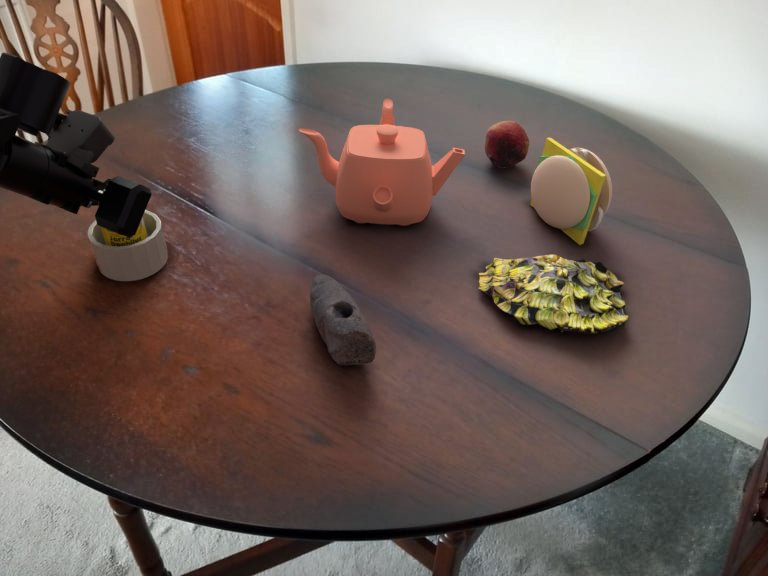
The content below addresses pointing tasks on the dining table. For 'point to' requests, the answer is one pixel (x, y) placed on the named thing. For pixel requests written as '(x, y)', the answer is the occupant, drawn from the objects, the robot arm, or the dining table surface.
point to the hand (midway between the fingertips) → (126, 207)
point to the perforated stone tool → (341, 323)
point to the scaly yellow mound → (556, 293)
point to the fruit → (506, 144)
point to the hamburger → (571, 189)
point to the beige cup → (131, 252)
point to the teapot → (384, 172)
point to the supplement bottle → (120, 240)
